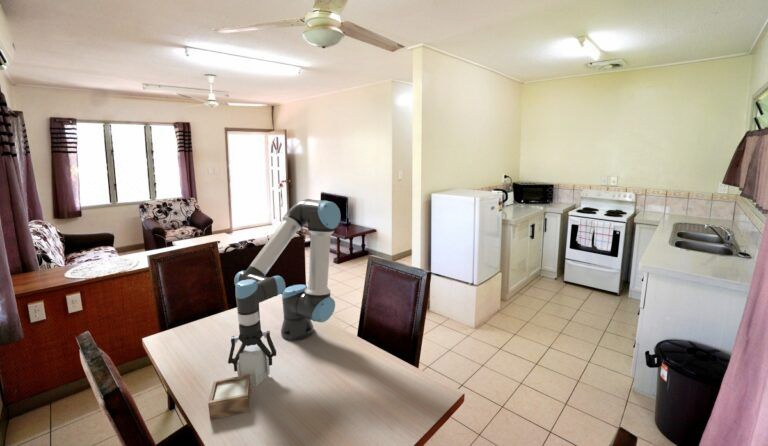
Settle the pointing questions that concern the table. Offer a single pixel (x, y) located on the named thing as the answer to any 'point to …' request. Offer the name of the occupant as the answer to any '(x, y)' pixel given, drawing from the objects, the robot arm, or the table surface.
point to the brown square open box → (229, 396)
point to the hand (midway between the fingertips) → (254, 375)
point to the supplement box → (253, 364)
